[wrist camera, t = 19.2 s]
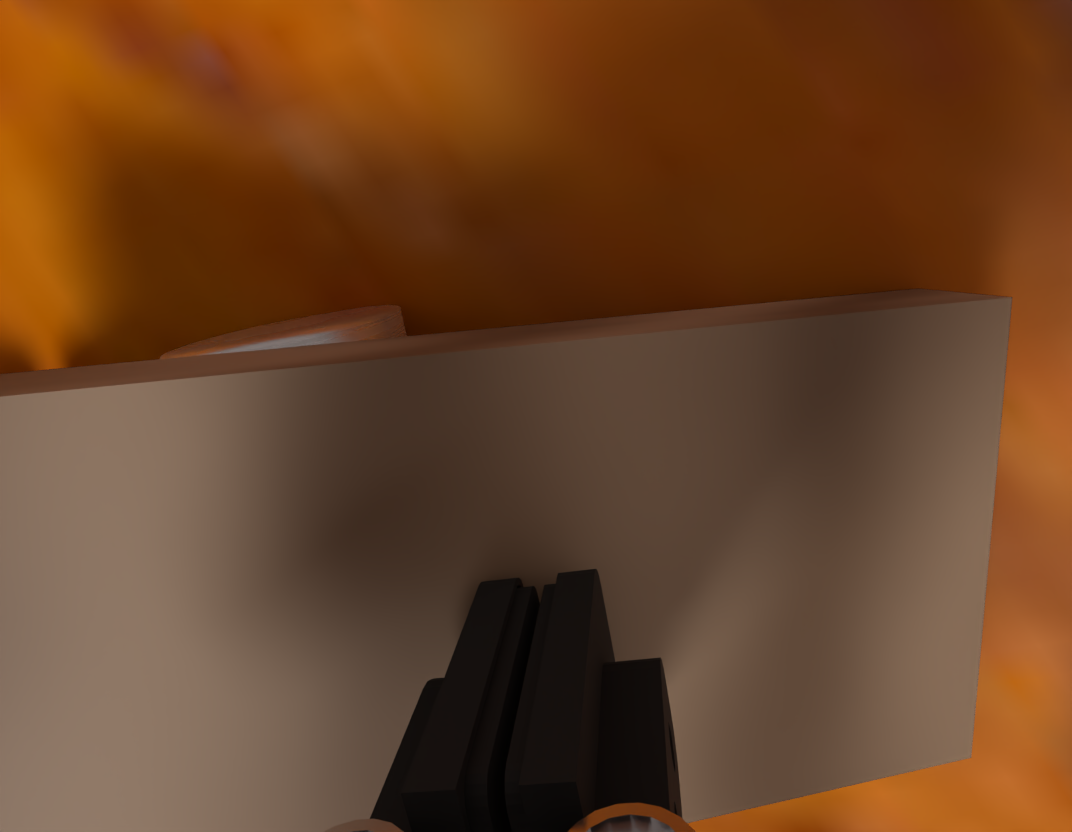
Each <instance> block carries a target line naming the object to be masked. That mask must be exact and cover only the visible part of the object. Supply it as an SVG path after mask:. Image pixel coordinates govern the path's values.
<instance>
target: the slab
mask: <svg viewBox="0 0 1072 832" xmlns="http://www.w3.org/2000/svg"><path fill="white" fill-rule="evenodd" d="M1011 305H1012V297H1004V296H994V295H983V294H972V293H961V292H951V291H940V290H929V289H908V290H897V291H887V292H876V293H865V294H854V295H844V296H833V297H822V298H811V299H801V300H790V301H779V302H769V303H758V304H747V305H736V306H726V307H715V308H704V309H693V310H683V311H672V312H661V313H650V314H640V315H629V316H618V317H608V318H597V319H586V320H575V321H565V322H554V323H543V324H532V325H522V326H511V327H500V328H489V329H479V330H468V331H457V332H446V333H436V334H425V335H414V336H404V337H393V338H382V339H371V340H361V341H350V342H339V343H328V344H318V345H307V346H296V347H287V348H277V349H266V350H254V351H243V352H232V353H221V354H210V355H200V356H189V357H178V358H167V359H157V360H146V361H135V362H124V363H114V364H103V365H92V366H82V367H71V368H60V369H49V370H39V371H28V372H17V373H6V374H0V832H324V831H326V830H328V829H330V828H331V827H333V826H336V825H340V824H343V823H346V822H349V821H353V820H361V819H370V817H371V814H372V812H373V809H374V807H375V805H376V802H377V800H378V797H379V795H380V792H381V790H382V787H383V785H384V783H385V780H386V778H387V775H388V773H389V770H390V768H391V766H392V763H393V761H394V758H395V756H396V753H397V751H398V748H399V746H400V744H401V741H402V739H403V736H404V734H405V731H406V729H407V726H408V724H409V722H410V719H411V717H412V714H413V712H414V709H415V707H416V705H417V702H418V700H419V697H420V695H421V692H422V690H423V688H424V686H425V684H426V683H427V681H429V680H431V679H434V678H444V677H445V674H446V671H447V669H448V666H449V663H450V661H451V658H452V655H453V653H454V650H455V647H456V645H457V642H458V639H459V637H460V634H461V631H462V629H463V626H464V623H465V621H466V618H467V615H468V613H469V610H470V607H471V605H472V602H473V599H474V597H475V594H476V591H477V589H478V586H479V584H480V583H481V582H484V581H492V580H501V579H510V578H520V579H521V581H522V584H523V587H529V586H534V587H535V588H536V590H537V594H538V598H539V602H541V597H542V593H543V588H544V585H547V584H556V579H557V575H558V573H562V572H571V571H580V570H589V569H597V571H598V574H599V577H600V582H601V587H602V593H603V598H604V603H605V609H606V614H607V619H608V625H609V630H610V636H611V641H612V646H613V652H614V657H615V662H617V661H628V660H639V659H650V658H660V657H661V659H662V663H663V667H664V673H665V679H666V685H667V691H668V697H669V703H670V709H671V715H672V722H673V729H674V736H675V744H676V752H677V761H678V771H679V782H680V794H681V806H682V818H683V820H684V821H685V822H686V823H690V822H694V821H699V820H703V819H707V818H712V817H716V816H720V815H725V814H729V813H733V812H738V811H742V810H746V809H751V808H755V807H759V806H764V805H768V804H772V803H777V802H781V801H785V800H790V799H794V798H798V797H803V796H807V795H811V794H816V793H820V792H824V791H829V790H833V789H837V788H842V787H846V786H850V785H855V784H859V783H863V782H868V781H872V780H876V779H881V778H885V777H889V776H894V775H898V774H902V773H907V772H911V771H915V770H920V769H924V768H928V767H933V766H937V765H941V764H946V763H950V762H954V761H959V760H963V759H967V758H971V753H972V742H973V731H974V719H975V708H976V697H977V686H978V675H979V663H980V652H981V641H982V630H983V619H984V607H985V596H986V585H987V574H988V563H989V551H990V540H991V529H992V518H993V507H994V495H995V484H996V473H997V462H998V451H999V439H1000V428H1001V417H1002V406H1003V395H1004V383H1005V372H1006V361H1007V350H1008V339H1009V327H1010V316H1011Z"/></svg>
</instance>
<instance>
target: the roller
mask: <svg viewBox="0 0 1072 832" xmlns="http://www.w3.org/2000/svg"><path fill="white" fill-rule="evenodd" d="M404 336H407V334H406V329H405V325H404V320H403V316H402V312H401V307H400V306H398V305H377V306H367V307H360V308H354V309H348V310H342V311H336V312H330V313H324V314H318V315H312V316H306V317H300V318H294V319H289V320H284V321H279V322H274V323H270V324H265V325H261V326H256V327H252V328H248V329H243V330H239V331H235V332H231V333H227V334H223V335H220V336H216V337H212V338H208V339H205V340H201V341H198V342H195V343H191V344H188V345H185V346H182V347H179V348H176V349H174V350H171V351H169V352H167V353H165V354H163V355H161V356H160V359H167V358H178V357H189V356H200V355H210V354H221V353H232V352H243V351H254V350H266V349H277V348H287V347H296V346H307V345H318V344H328V343H339V342H350V341H361V340H371V339H382V338H393V337H404Z"/></svg>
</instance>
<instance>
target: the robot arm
mask: <svg viewBox="0 0 1072 832" xmlns="http://www.w3.org/2000/svg"><path fill="white" fill-rule="evenodd" d="M324 832H695V830H694V829H693V828H691V827H690V826H689V825H688V824H687V823H686V822H685V821H684V820H683V818H682V806H681V794H680V782H679V771H678V761H677V752H676V744H675V736H674V729H673V722H672V715H671V709H670V703H669V697H668V691H667V685H666V679H665V673H664V667H663V663H662V659H661V657H660V658H650V659H639V660H628V661H617V662H615V657H614V652H613V646H612V641H611V636H610V630H609V625H608V619H607V614H606V609H605V603H604V598H603V593H602V587H601V582H600V577H599V574H598V571H597V569H589V570H580V571H571V572H562V573H558V575H557V579H556V584H547V585H544V588H543V593H542V597H541V602H539V598H538V594H537V590H536V588H535V587H534V586H529V587H523V584H522V581H521V579H520V578H510V579H501V580H492V581H484V582H481V583H480V584H479V586H478V589H477V591H476V594H475V597H474V599H473V602H472V605H471V607H470V610H469V613H468V615H467V618H466V621H465V623H464V626H463V629H462V631H461V634H460V637H459V639H458V642H457V645H456V647H455V650H454V653H453V655H452V658H451V661H450V663H449V666H448V669H447V671H446V674H445V677H444V678H434V679H431V680H429V681H427V683H426V684H425V686H424V688H423V690H422V692H421V695H420V697H419V700H418V702H417V705H416V707H415V709H414V712H413V714H412V717H411V719H410V722H409V724H408V726H407V729H406V731H405V734H404V736H403V739H402V741H401V744H400V746H399V748H398V751H397V753H396V756H395V758H394V761H393V763H392V766H391V768H390V770H389V773H388V775H387V778H386V780H385V783H384V785H383V787H382V790H381V792H380V795H379V797H378V800H377V802H376V805H375V807H374V809H373V812H372V814H371V817H370V819H361V820H353V821H349V822H346V823H343V824H340V825H336V826H333V827H331V828H330V829H328V830H326V831H324Z"/></svg>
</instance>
